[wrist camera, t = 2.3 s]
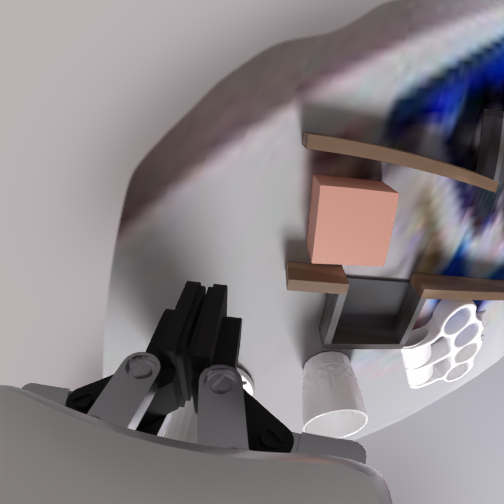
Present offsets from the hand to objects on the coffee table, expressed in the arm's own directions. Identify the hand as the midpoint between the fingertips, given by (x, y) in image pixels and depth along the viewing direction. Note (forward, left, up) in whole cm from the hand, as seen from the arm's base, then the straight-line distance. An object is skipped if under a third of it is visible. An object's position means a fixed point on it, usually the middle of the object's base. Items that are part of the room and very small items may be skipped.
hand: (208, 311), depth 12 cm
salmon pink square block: (0, -10, -17) cm, 20 cm away
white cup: (-22, -13, -17) cm, 31 cm away
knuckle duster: (-17, -31, -18) cm, 40 cm away
